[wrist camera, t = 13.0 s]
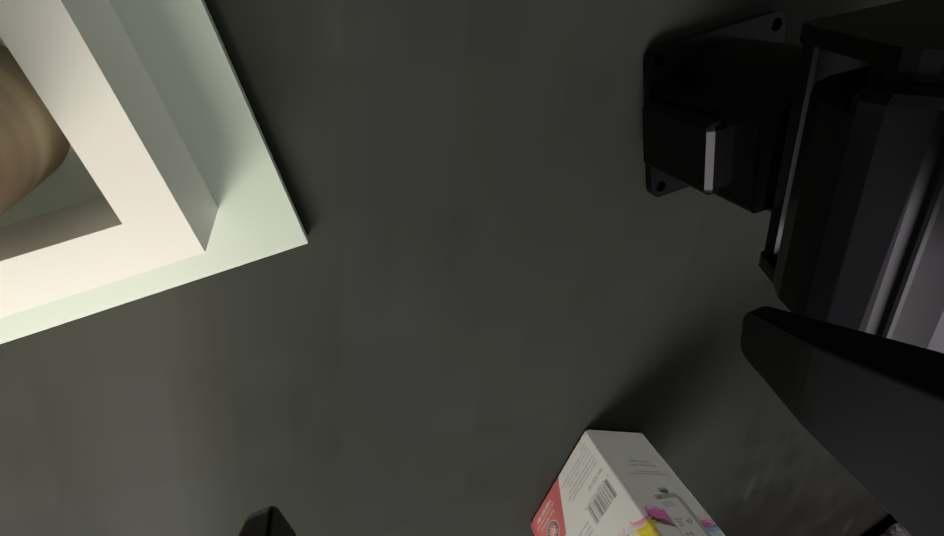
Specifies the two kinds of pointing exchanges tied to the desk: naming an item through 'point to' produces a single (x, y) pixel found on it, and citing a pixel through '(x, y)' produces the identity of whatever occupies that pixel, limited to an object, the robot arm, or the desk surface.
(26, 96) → the peg
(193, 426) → the desk surface
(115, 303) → the socket
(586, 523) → the ink cartridge box
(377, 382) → the desk surface
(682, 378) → the desk surface
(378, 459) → the desk surface
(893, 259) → the robot arm
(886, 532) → the geode
